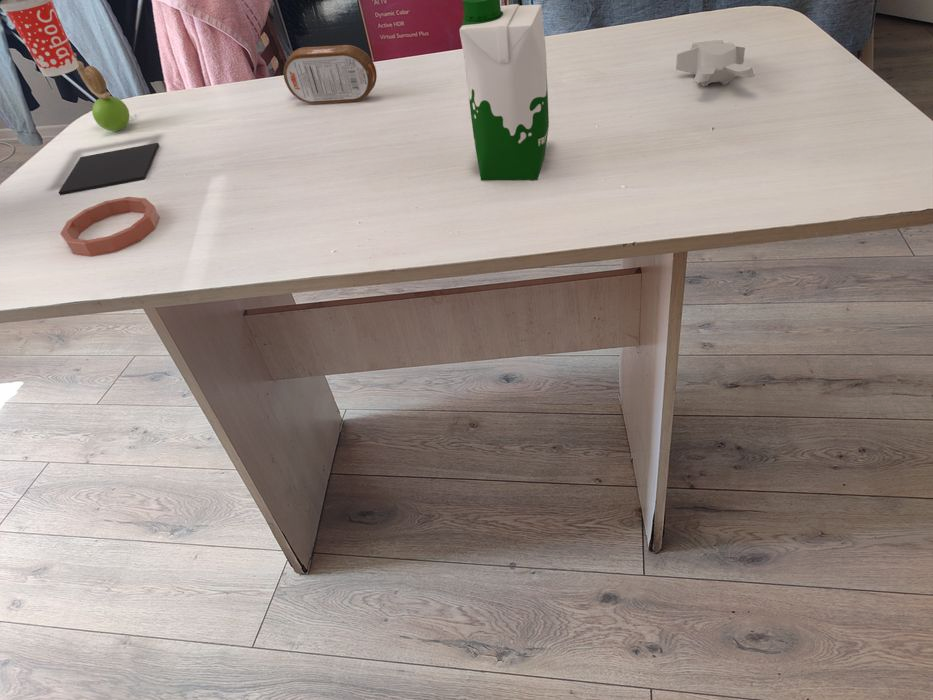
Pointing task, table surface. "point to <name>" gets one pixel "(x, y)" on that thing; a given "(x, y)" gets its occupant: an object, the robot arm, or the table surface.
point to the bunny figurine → (714, 62)
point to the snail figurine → (104, 100)
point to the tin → (330, 74)
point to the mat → (110, 168)
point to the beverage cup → (42, 34)
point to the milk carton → (506, 87)
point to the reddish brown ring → (115, 240)
